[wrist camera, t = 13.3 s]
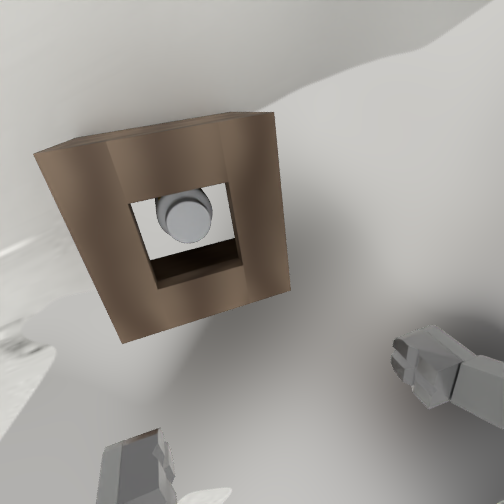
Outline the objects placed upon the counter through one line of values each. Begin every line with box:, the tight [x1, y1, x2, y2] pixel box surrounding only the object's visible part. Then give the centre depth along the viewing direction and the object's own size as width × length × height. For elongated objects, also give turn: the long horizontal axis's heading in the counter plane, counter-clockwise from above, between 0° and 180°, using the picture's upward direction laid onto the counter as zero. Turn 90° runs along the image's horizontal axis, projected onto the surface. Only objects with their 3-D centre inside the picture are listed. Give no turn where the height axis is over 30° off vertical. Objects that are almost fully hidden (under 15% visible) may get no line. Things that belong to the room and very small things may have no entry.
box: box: [33, 112, 291, 344], centre depth 29 cm, size 16×16×13 cm
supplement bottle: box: [155, 188, 212, 243], centre depth 31 cm, size 5×5×10 cm
